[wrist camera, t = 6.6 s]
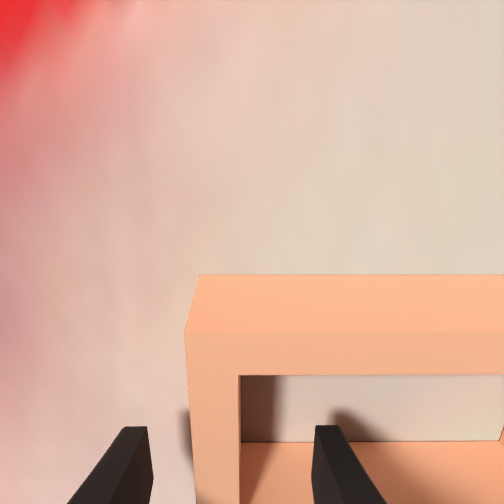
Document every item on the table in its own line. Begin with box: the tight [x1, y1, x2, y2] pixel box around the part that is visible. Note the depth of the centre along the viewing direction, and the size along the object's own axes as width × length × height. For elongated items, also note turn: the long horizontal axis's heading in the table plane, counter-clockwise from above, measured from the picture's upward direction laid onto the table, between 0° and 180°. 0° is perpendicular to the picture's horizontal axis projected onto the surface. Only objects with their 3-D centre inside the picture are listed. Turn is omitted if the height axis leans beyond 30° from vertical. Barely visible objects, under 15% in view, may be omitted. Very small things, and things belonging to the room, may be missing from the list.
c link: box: [184, 275, 504, 504], centre depth 11 cm, size 12×8×3 cm, turn 90°
